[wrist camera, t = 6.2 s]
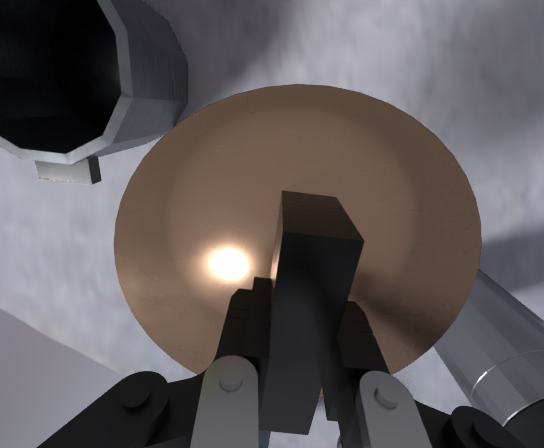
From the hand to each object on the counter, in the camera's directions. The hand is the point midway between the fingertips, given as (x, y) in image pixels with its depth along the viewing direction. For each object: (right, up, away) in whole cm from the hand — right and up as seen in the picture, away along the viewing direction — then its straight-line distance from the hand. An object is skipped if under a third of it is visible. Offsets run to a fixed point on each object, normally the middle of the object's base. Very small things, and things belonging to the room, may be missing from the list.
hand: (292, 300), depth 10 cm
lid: (0, +1, +3) cm, 3 cm away
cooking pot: (-16, +18, +15) cm, 28 cm away
